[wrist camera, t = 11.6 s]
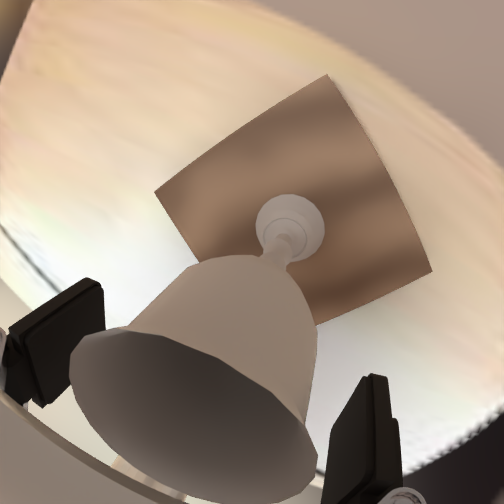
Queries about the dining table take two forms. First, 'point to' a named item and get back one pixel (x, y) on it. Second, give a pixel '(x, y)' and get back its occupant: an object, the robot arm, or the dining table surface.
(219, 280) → the chalice
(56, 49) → the dining table surface
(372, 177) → the serving board
